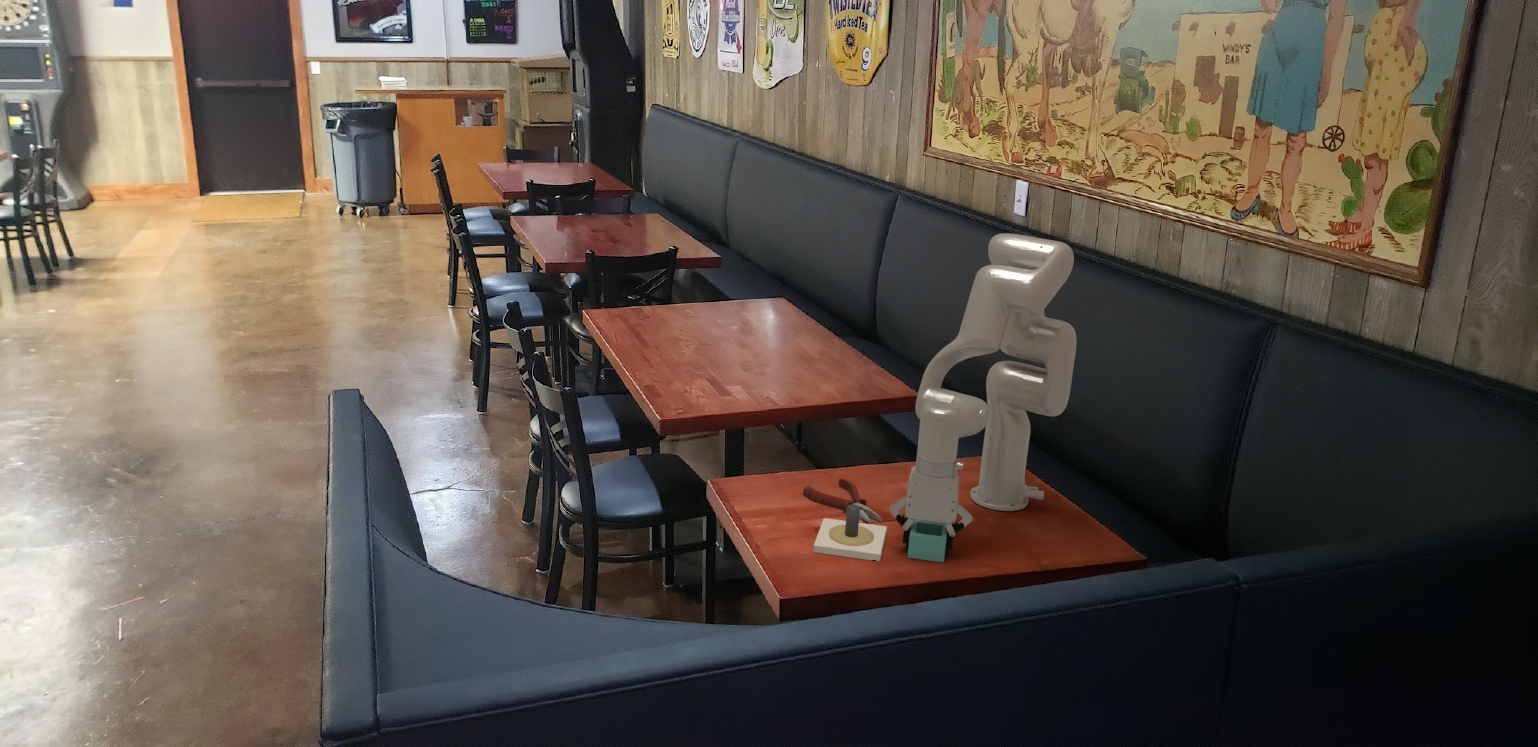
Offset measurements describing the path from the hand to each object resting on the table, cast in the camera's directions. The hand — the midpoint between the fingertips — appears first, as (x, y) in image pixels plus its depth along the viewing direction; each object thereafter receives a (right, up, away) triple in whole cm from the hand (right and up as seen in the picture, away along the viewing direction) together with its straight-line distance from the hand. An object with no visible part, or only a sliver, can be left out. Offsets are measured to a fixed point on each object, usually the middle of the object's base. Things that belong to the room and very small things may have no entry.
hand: (927, 548), depth 223 cm
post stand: (-15, +1, +3) cm, 15 cm away
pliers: (-16, +6, +20) cm, 26 cm away
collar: (0, -1, 0) cm, 1 cm away
